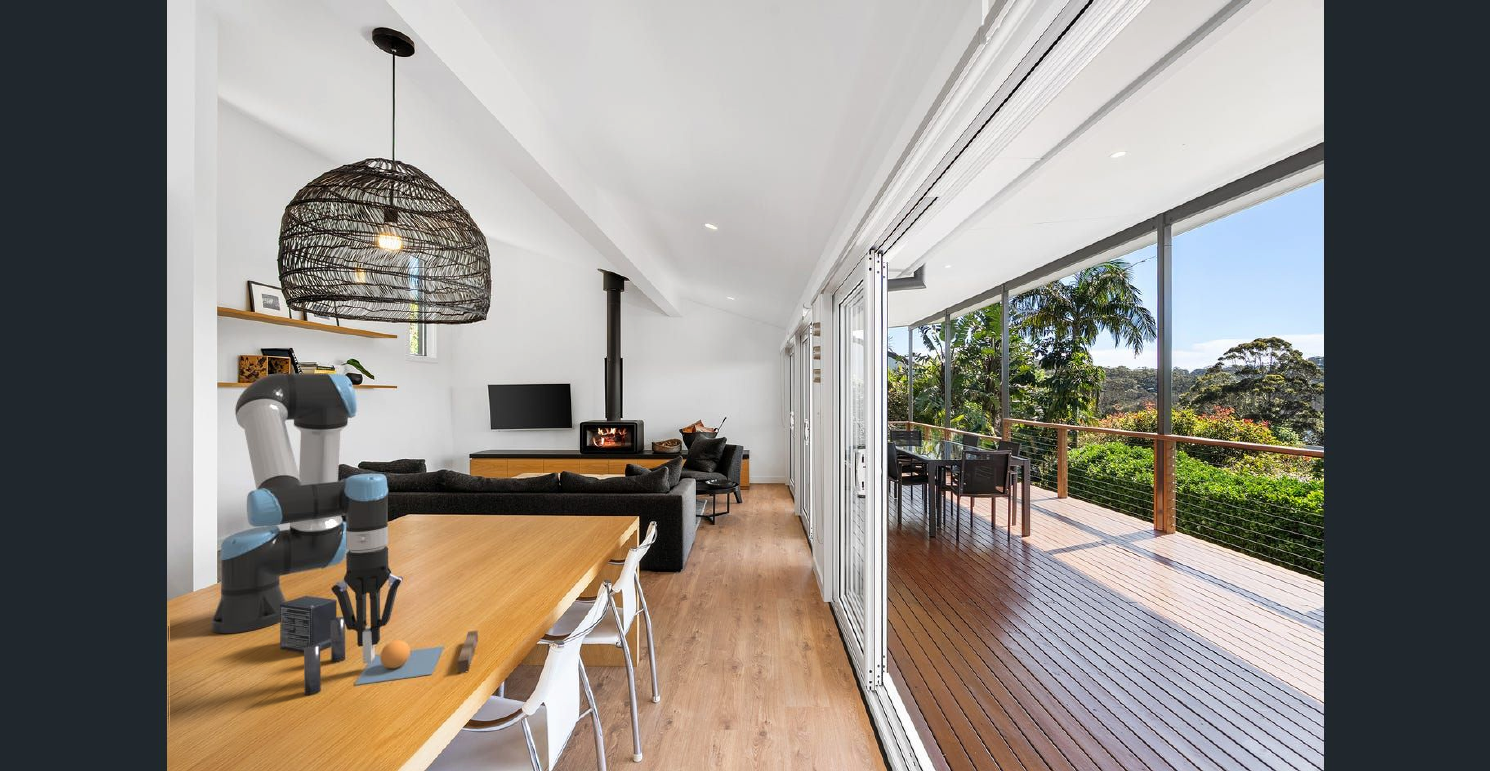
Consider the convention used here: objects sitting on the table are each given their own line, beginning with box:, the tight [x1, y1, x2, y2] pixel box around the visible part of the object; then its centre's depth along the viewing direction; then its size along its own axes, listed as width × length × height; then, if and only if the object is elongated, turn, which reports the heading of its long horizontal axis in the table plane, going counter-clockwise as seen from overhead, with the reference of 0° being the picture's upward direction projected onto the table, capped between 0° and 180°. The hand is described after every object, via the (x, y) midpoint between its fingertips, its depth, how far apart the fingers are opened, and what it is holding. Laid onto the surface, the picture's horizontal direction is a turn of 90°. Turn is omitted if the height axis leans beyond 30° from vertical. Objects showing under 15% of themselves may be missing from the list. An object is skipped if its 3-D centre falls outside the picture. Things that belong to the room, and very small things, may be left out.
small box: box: [279, 595, 338, 654], centre depth 140 cm, size 11×6×10 cm, turn 71°
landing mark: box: [354, 645, 445, 687], centre depth 130 cm, size 14×14×1 cm
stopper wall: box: [457, 630, 479, 674], centre depth 133 cm, size 16×2×2 cm, turn 17°
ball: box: [379, 639, 411, 669], centre depth 129 cm, size 6×6×6 cm
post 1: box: [303, 643, 322, 697], centre depth 118 cm, size 3×3×9 cm
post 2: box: [330, 616, 346, 664], centre depth 132 cm, size 3×3×9 cm
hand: (369, 660), depth 128 cm, fingers closed
